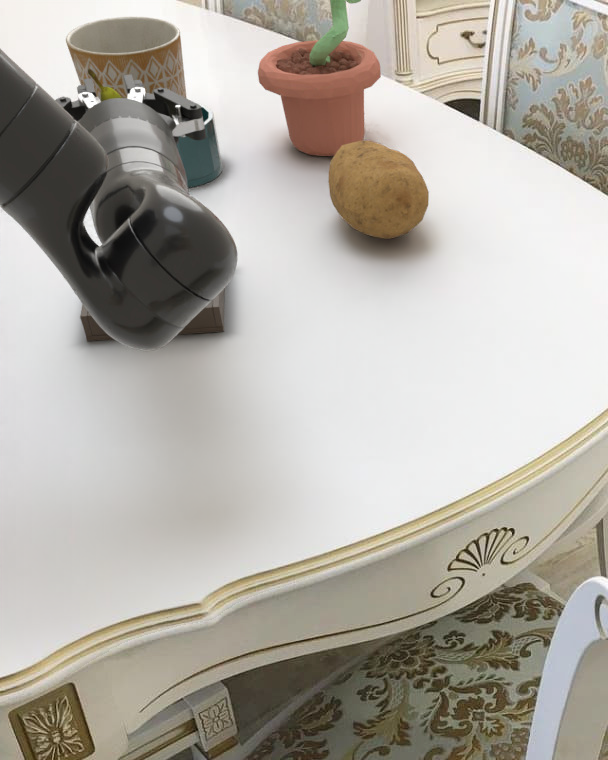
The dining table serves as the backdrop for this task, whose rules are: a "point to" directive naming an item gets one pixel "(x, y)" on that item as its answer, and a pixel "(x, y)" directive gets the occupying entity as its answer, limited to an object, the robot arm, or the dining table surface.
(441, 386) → the dining table surface
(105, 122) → the robot arm
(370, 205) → the potato
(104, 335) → the tray
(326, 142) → the decorative flower
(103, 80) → the planter
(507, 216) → the dining table surface
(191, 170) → the cup
